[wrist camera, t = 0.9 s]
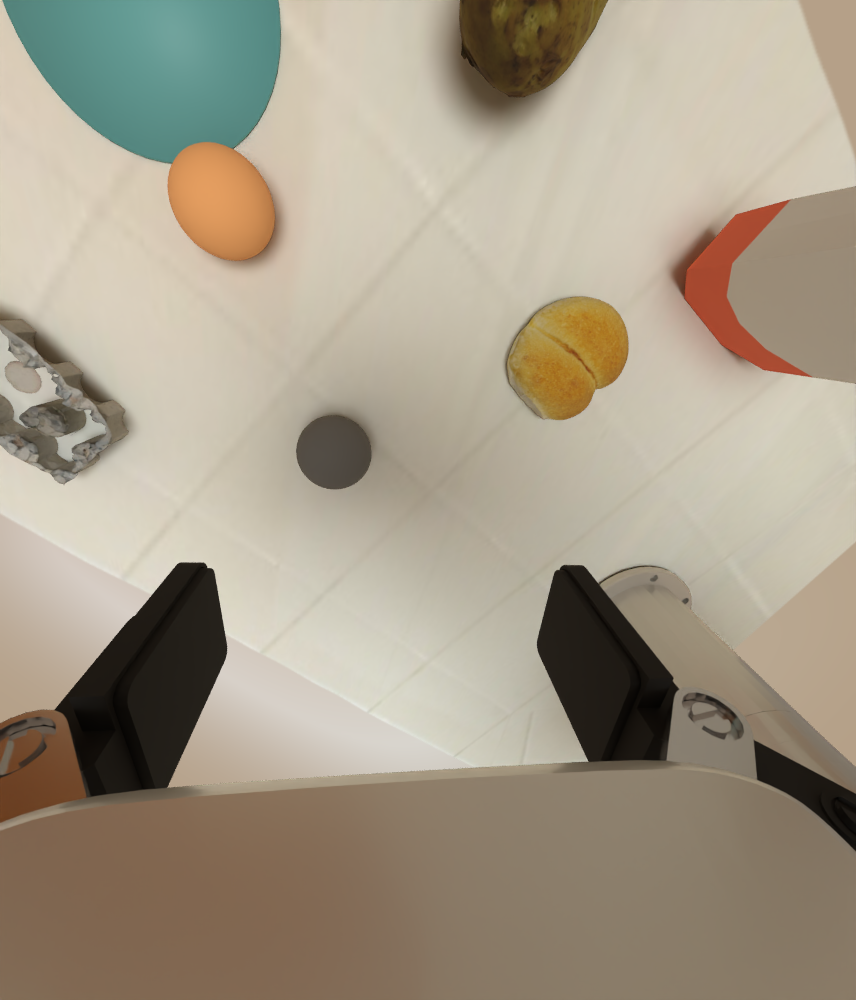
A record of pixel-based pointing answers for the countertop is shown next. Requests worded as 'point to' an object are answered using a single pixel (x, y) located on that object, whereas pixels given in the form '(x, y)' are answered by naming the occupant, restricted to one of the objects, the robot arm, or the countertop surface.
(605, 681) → the robot arm
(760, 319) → the french fries container
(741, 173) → the countertop surface
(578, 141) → the countertop surface
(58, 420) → the egg carton
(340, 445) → the dark gray ball
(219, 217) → the object ball
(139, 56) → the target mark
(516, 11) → the potato
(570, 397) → the bread roll
